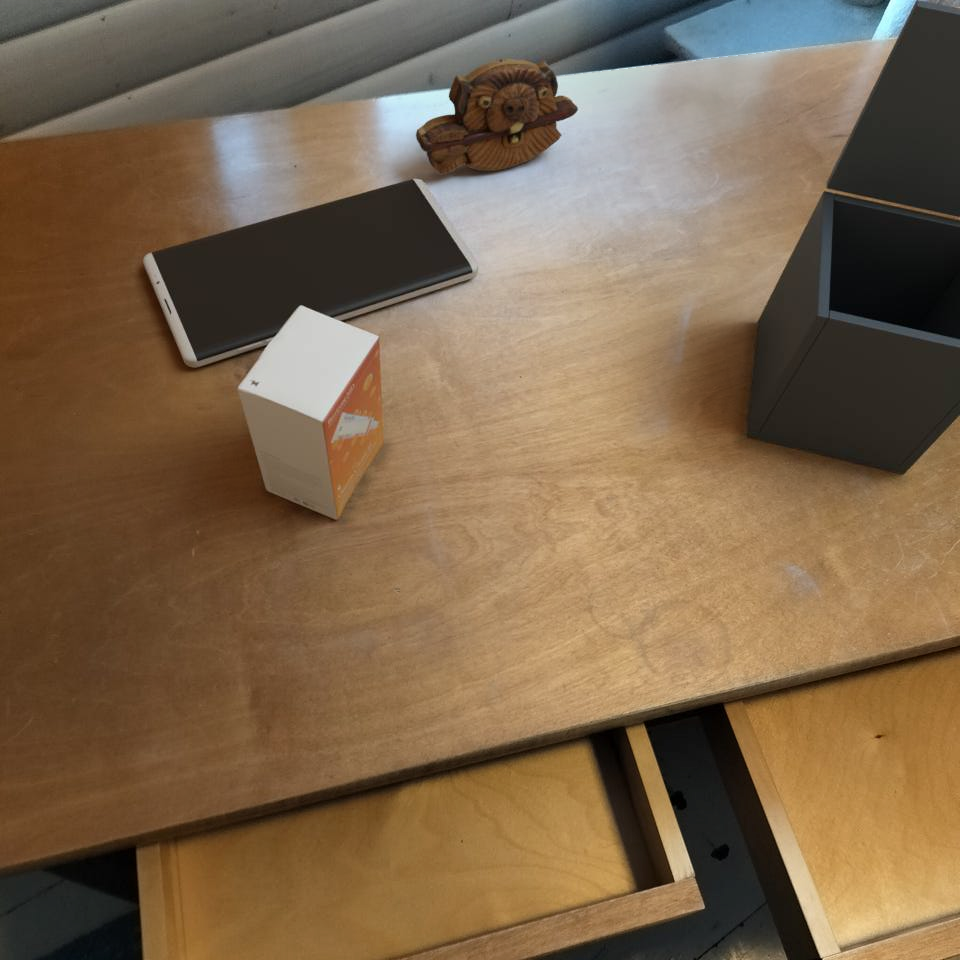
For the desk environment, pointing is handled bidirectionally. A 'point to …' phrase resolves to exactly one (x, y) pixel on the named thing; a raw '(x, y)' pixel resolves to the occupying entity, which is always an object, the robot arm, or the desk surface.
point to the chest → (862, 336)
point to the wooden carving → (497, 117)
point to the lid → (911, 120)
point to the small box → (315, 410)
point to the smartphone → (306, 268)
